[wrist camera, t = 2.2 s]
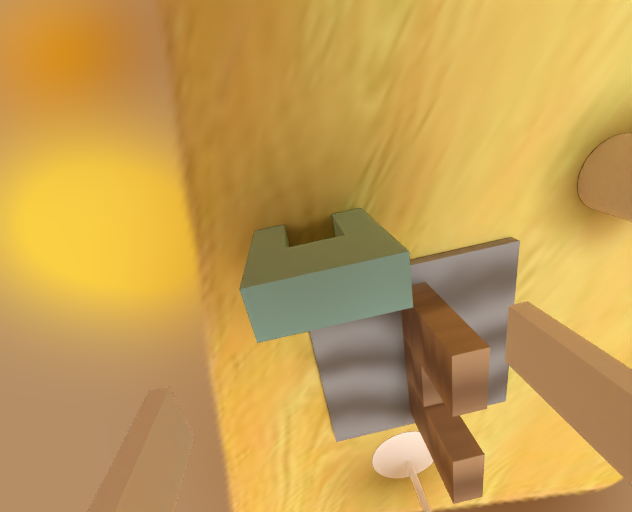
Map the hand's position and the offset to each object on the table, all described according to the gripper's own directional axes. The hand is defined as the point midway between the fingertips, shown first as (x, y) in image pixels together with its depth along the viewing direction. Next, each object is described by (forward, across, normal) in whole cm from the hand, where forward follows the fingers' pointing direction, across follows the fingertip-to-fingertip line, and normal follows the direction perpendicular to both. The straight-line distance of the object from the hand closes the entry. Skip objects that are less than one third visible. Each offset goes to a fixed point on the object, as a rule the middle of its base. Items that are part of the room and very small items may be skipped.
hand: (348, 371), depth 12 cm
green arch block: (+15, 0, 0) cm, 15 cm away
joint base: (+15, +8, -14) cm, 22 cm away
